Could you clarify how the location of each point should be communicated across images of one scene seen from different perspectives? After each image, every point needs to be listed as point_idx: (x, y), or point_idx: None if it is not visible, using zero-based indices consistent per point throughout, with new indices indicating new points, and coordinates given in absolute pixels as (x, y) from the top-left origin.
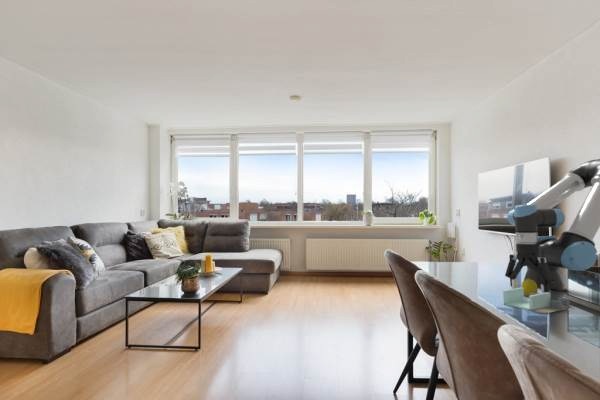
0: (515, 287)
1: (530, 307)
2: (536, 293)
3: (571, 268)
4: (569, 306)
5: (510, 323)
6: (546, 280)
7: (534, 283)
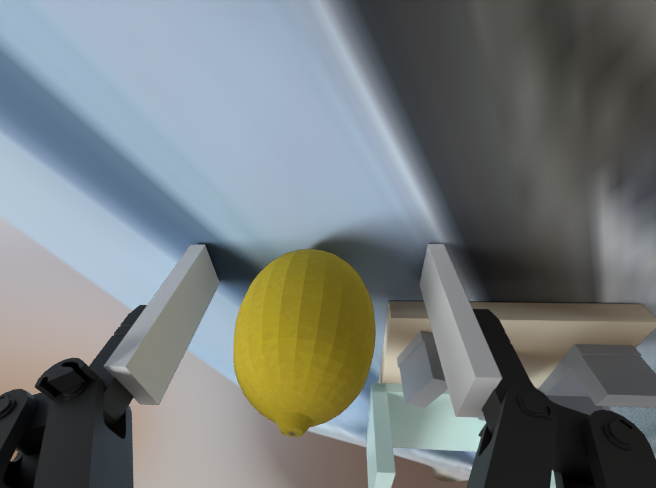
0: (188, 318)
1: None
2: (437, 393)
3: None
4: (633, 352)
5: (466, 478)
6: (523, 440)
7: (362, 384)
